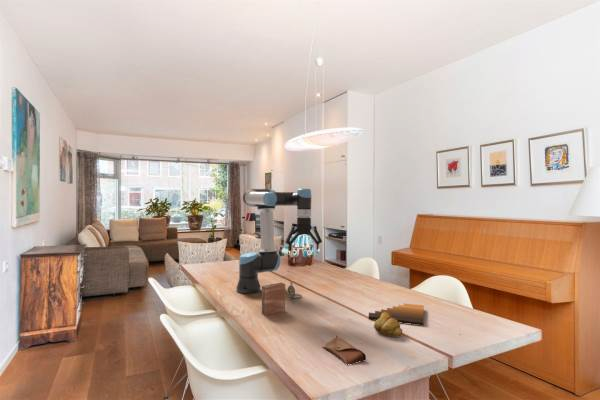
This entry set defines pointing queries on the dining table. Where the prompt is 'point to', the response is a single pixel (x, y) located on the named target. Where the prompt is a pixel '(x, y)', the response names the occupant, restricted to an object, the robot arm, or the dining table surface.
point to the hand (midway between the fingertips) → (303, 256)
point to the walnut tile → (273, 298)
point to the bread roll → (388, 325)
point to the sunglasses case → (344, 351)
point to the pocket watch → (293, 292)
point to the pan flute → (403, 313)
